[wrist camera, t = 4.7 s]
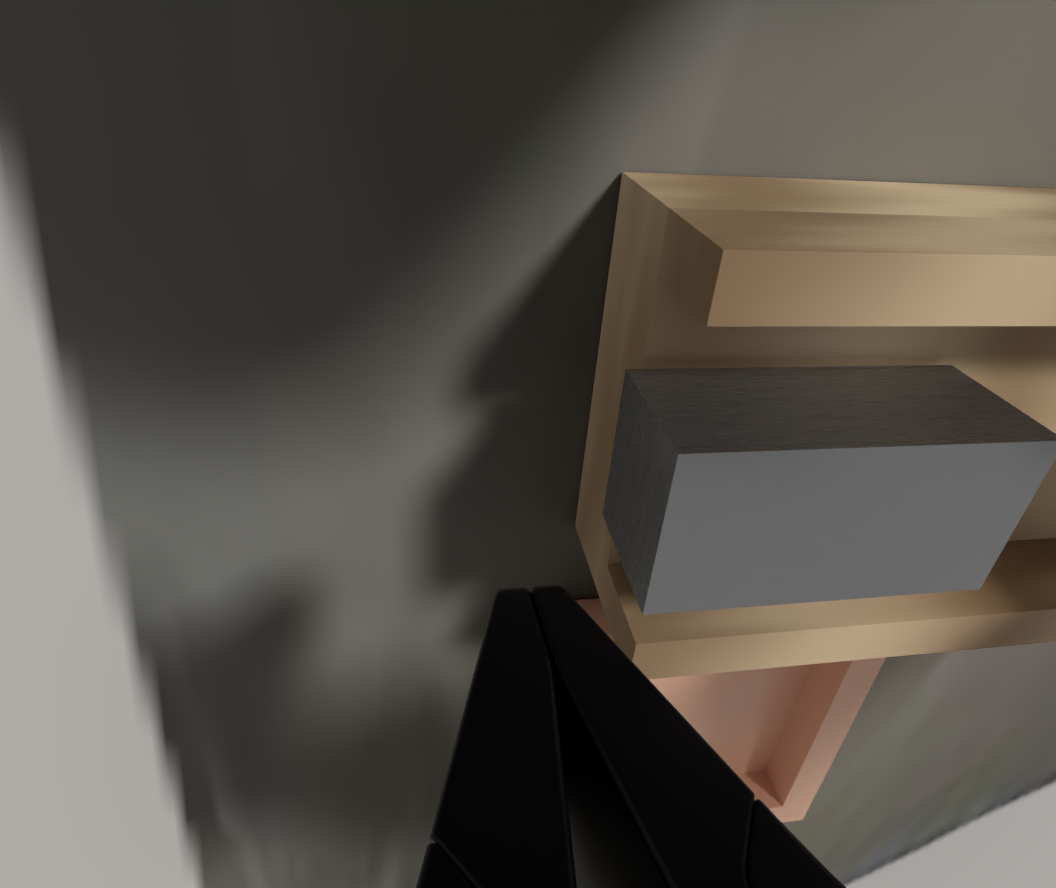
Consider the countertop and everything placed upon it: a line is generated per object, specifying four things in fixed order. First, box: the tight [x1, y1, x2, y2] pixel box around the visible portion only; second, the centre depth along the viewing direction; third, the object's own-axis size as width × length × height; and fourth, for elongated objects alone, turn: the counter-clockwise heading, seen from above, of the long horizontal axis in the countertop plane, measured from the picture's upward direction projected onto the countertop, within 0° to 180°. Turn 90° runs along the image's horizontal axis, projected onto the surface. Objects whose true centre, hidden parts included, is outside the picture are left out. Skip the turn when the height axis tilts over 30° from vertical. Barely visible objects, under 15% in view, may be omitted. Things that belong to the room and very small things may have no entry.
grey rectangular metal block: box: [602, 365, 1056, 615], centre depth 11 cm, size 6×3×2 cm, turn 86°
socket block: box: [575, 172, 1056, 679], centre depth 14 cm, size 16×8×4 cm, turn 86°
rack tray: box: [576, 598, 886, 822], centre depth 20 cm, size 9×9×2 cm
